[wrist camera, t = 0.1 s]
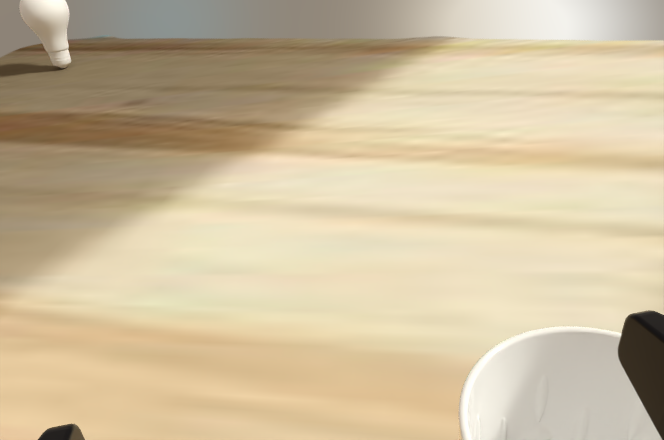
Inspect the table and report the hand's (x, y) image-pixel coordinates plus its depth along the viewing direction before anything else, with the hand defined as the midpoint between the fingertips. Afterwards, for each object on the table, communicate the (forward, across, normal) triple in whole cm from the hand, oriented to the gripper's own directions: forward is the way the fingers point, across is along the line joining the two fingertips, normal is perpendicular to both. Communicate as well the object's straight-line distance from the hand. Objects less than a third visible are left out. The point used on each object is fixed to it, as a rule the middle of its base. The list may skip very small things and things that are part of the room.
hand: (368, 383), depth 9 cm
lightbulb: (+82, +26, +16) cm, 87 cm away
